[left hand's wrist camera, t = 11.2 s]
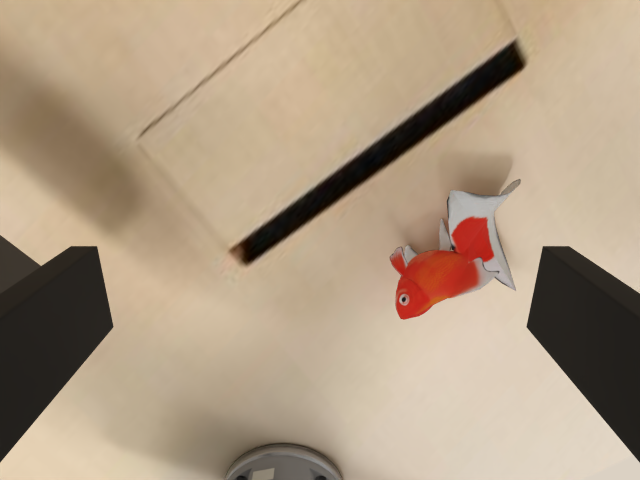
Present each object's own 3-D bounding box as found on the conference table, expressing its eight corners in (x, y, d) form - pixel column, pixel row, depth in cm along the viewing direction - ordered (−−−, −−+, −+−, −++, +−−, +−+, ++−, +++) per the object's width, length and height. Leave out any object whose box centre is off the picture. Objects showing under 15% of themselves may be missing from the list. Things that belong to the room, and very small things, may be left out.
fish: (338, 234, 37) (419, 287, 29) (462, 135, 40) (563, 160, 33) (375, 308, 43) (449, 367, 36) (478, 218, 47) (566, 254, 39)
